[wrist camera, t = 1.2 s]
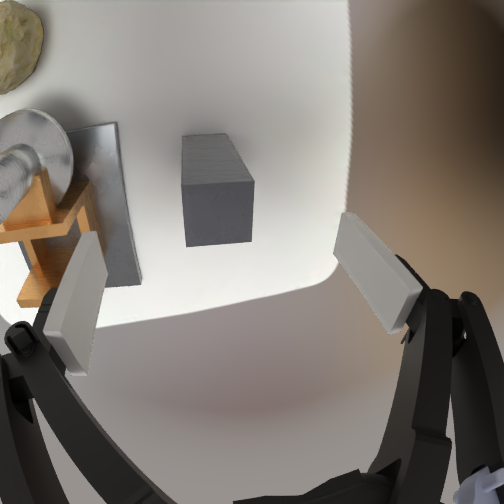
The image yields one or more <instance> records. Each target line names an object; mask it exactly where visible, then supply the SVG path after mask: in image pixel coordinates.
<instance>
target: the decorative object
mask: <svg viewBox="0 0 504 504" xmlns="http://www.w3.org/2000/svg"><path fill="white" fill-rule="evenodd" d="M42 42H43V27H42V25H41V20H40V18H39V17H38V16H37V15H36V13H34V12H33V11H31V10H28V9H26V6H25V5H22V4H19V3H18V2H16V1H13V0H5V1H3V2H1V3H0V95H2V94H6V93H8V92H9V91H10V90H13V89H15V88H16V87H17V86H18V85H20V84H21V83H23V81H24V80H25V79H26V78H27V77H28V76H29V75H30V74H31V73H33V72H34V71H35V69H36V65H35V64H36V63H37V61H38V57H39V55H40V53H41V45H42Z"/></svg>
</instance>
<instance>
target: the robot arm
mask: <svg viewBox="0 0 504 504" xmlns="http://www.w3.org/2000/svg"><path fill="white" fill-rule="evenodd" d="M333 254H334V255H335V257H336V258H337V259H338V261H339V262H340V264H341V265H342V266H343V268H344V269H345V271H346V272H347V274H348V275H349V276H350V278H351V279H352V281H353V282H354V284H355V285H356V286H357V288H358V289H359V291H360V292H361V294H362V295H363V297H364V298H365V300H366V301H367V303H368V304H369V306H370V307H371V309H372V310H373V312H374V313H375V315H376V316H377V318H378V319H379V321H380V322H381V324H382V326H383V327H384V329H385V330H386V332H387V333H388V335H390V334H393V333H397V332H400V331H401V330H402V328H403V326H404V324H405V322H406V323H407V325H408V326H409V329H408V330H407V332H406V334H405V336H404V338H403V339H402V341H401V344H403V342H404V341H405V346H404V352H403V357H402V363H401V368H400V373H399V378H398V383H397V388H396V391H395V396H394V400H393V404H392V408H391V412H390V415H389V419H388V423H387V427H386V430H385V433H384V437H383V440H382V443H381V446H380V449H379V452H378V454H377V457H376V458H375V459H374V461H373V462H372V464H371V466H370V468H369V470H368V472H367V473H360V471H359V469H357V470H354V471H352V472H349V473H346V474H343V475H341V476H338V477H335V478H332V479H330V480H328V481H326V482H325V483H323V484H321V485H319V486H318V487H316V488H314V489H312V490H311V491H309V492H307V493H305V494H303V495H298V496H262V497H257V498H251V499H245V500H238V501H233V504H444V503H442V502H440V499H441V495H442V492H443V488H444V483H445V479H446V475H447V470H448V465H449V460H450V455H451V449H452V441H451V439H450V438H448V437H446V426H447V418H448V410H449V401H450V395H451V402H452V410H453V420H454V430H455V444H456V463H457V473H458V480H459V484H460V488H459V490H458V491H456V492H455V494H454V495H453V501H454V502H455V503H456V504H504V362H503V359H502V356H501V353H500V350H499V347H498V344H497V341H496V338H495V335H494V332H493V330H492V327H491V324H490V322H489V319H488V317H487V314H486V312H485V310H484V307H483V304H482V302H481V301H480V299H479V298H478V297H477V295H475V294H474V293H472V292H467V291H465V292H463V293H462V294H461V296H460V298H459V299H450V298H449V297H448V295H447V294H445V293H444V292H443V291H440V290H438V289H430V288H429V286H428V285H427V284H426V283H425V282H424V281H423V280H422V279H421V277H420V276H419V275H418V274H417V273H415V271H414V270H413V268H411V267H410V265H409V264H408V263H407V262H406V261H405V260H404V259H403V258H401V257H400V256H398V255H394V254H393V253H392V252H391V251H390V250H389V249H388V247H386V245H385V244H384V243H383V242H382V241H381V240H380V239H379V238H378V237H377V236H376V235H375V234H374V233H373V232H372V231H371V230H370V229H369V228H368V227H367V226H366V225H365V223H364V222H362V220H361V219H359V217H357V215H356V214H355V213H353V212H349V213H348V212H347V213H342V214H341V219H340V224H339V229H338V234H337V238H336V243H335V247H334V252H333ZM107 276H108V272H107V269H106V265H105V262H104V258H103V255H102V251H101V247H100V244H99V240H98V236H97V232H96V231H91V232H83V234H82V236H81V238H80V240H79V242H78V244H77V246H76V248H75V250H74V253H73V255H72V257H71V259H70V262H69V264H68V266H67V268H66V271H65V273H64V275H63V278H62V280H61V283H60V285H59V288H51V289H50V290H49V291H48V292H47V293H46V294H45V295H44V297H43V300H42V302H41V306H40V307H39V310H38V313H37V315H36V318H35V320H34V323H33V326H31V325H30V324H29V323H28V322H25V321H20V322H17V323H15V324H13V325H12V326H11V327H10V328H9V329H8V330H7V332H6V334H5V338H4V340H5V344H6V345H7V347H8V348H9V349H10V351H11V352H12V353H9V354H6V355H2V356H1V354H0V498H1V501H2V503H3V504H69V502H68V500H67V498H66V495H65V493H64V491H63V489H62V487H61V484H60V482H59V480H58V478H57V475H56V472H55V470H54V467H53V465H52V462H51V459H50V457H49V454H48V451H47V449H46V445H45V442H44V439H43V436H42V433H41V430H40V426H39V423H38V419H37V416H36V412H35V408H34V404H33V400H32V398H35V400H36V402H37V404H38V406H39V408H40V409H41V411H42V413H43V415H44V417H45V418H46V420H47V422H48V424H49V425H50V427H51V429H52V430H53V432H54V433H55V435H56V437H57V438H58V440H59V441H60V443H61V444H62V446H63V447H64V449H65V450H66V452H67V453H68V455H69V456H70V458H71V459H72V460H73V462H74V463H75V465H76V466H77V467H78V468H79V470H80V471H81V473H82V474H83V475H84V476H85V478H86V479H87V480H88V482H89V483H90V484H91V485H92V487H93V488H94V489H95V490H96V491H97V493H98V494H99V495H100V496H101V497H102V498H103V500H104V501H105V502H106V503H107V504H177V503H176V502H175V501H173V500H172V499H171V498H170V497H169V496H167V495H166V494H165V493H164V492H163V491H162V490H161V489H160V488H159V487H157V486H156V485H155V484H154V483H153V482H152V481H151V480H150V479H149V478H148V477H147V476H146V475H145V474H144V473H143V472H142V471H141V470H140V469H139V468H138V467H137V466H136V465H135V464H134V463H133V462H132V461H131V460H130V459H129V458H128V457H127V456H126V454H125V453H124V452H123V451H122V450H121V449H120V448H119V447H118V446H117V444H116V443H115V442H114V441H113V440H112V439H111V437H110V436H109V435H108V434H107V433H106V431H105V430H104V429H103V428H102V426H101V425H100V424H99V423H98V422H97V420H96V419H95V418H94V416H93V415H92V414H91V412H90V411H89V410H88V409H87V407H86V406H85V404H84V403H83V402H82V400H81V399H80V397H79V396H78V395H77V393H76V392H75V390H74V389H73V387H72V386H71V384H70V383H69V381H68V380H67V379H66V377H65V370H66V368H67V370H68V371H69V372H70V374H71V375H74V376H87V375H88V369H89V362H90V356H91V349H92V344H93V339H94V333H95V328H96V323H97V318H98V314H99V309H100V305H101V300H102V296H103V292H104V288H105V284H106V280H107ZM465 332H466V339H465V338H464V334H465Z"/></svg>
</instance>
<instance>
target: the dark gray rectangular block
mask: <svg viewBox="0 0 504 504" xmlns="http://www.w3.org/2000/svg"><path fill="white" fill-rule="evenodd" d="M254 182H255V181H254V179H253V178H252V176H251V174H250V173H249V171H248V169H247V167H246V166H245V164H244V162H243V161H242V159H241V157H240V156H239V154H238V152H237V151H236V149H235V147H234V146H233V144H232V142H231V141H230V139H229V138H228V136H227V134H212V135H193V136H183V137H182V172H181V188H182V203H183V216H184V228H185V239H186V247H195V246H206V245H218V244H230V243H243V242H252V222H253V202H254Z"/></svg>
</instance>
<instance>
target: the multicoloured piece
mask: <svg viewBox="0 0 504 504" xmlns="http://www.w3.org/2000/svg"><path fill="white" fill-rule="evenodd" d="M91 231H96V232H97V236H98V240H99V244H100V247H101V251H102V255H103V258H104V262H105V265H106V269H107V272H108V276H107V280H106V284H105V288H107V287H120V286H133V285H141V282H142V278H141V274H140V269H139V265H138V260H137V256H136V251H135V246H134V241H133V236H132V231H131V226H130V221H129V215H128V209H127V203H126V197H125V191H124V184H123V177H122V169H121V161H120V153H119V144H118V133H117V122H115V123H108V124H102V125H96V126H90V127H85V128H80V129H75V130H70V131H64V129H63V128H62V126H61V125H60V124H59V123H58V122H57V121H56V120H55V119H54V118H53V117H52V116H50V115H49V114H47V113H45V112H43V111H40V110H36V109H23V110H18V111H16V112H13V113H11V114H9V115H6V116H5V117H3V118H2V119H0V244H3V243H10V242H17V241H18V243H19V245H20V248H21V251H22V253H23V256H24V258H25V261H26V263H27V265H28V268H29V270H30V273H29V275H28V277H27V279H26V281H25V283H24V285H23V287H22V289H21V291H20V293H19V295H18V297H17V302H18V304H19V306H20V308H31V307H40V306H41V302H42V300H43V297H44V295H45V294H46V293H47V292H48V291H49V290H50V289H51V288H59V285H60V283H61V280H62V278H63V275H64V273H65V271H66V268H67V266H68V264H69V262H70V259H71V257H72V255H73V253H74V250H75V248H76V246H77V244H78V242H79V240H80V238H81V236H82V234H83V232H91Z"/></svg>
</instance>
